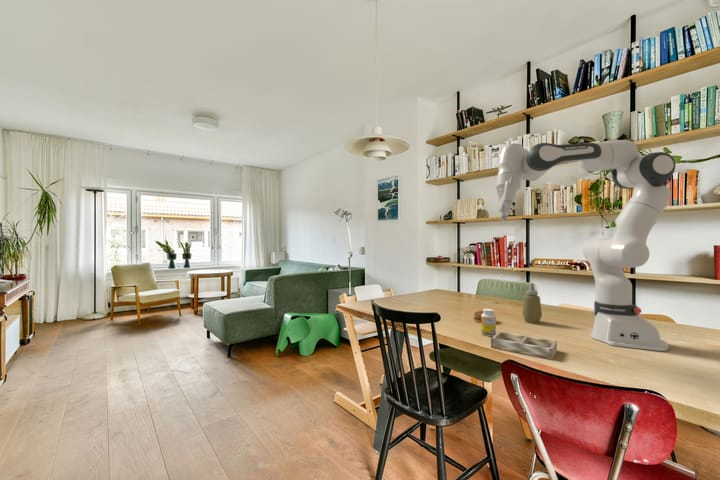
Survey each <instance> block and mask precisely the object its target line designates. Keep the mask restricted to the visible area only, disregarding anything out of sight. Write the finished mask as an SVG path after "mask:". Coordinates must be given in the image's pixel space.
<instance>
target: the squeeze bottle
mask: <svg viewBox="0 0 720 480" xmlns="http://www.w3.org/2000/svg"><path fill="white" fill-rule="evenodd" d="M538 294H539V293H538V291H537V290H536V289H535V285H534V283H533V282H531V283H530V284H529V289H528V290H526V294H525V295H524V296H523V303H522V315H523V320H524V321H525V322H526V323H530V324H538V323H540V321H541V318H542V316H543V313H542V303H541V297H540V296H539V295H538Z"/></svg>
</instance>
